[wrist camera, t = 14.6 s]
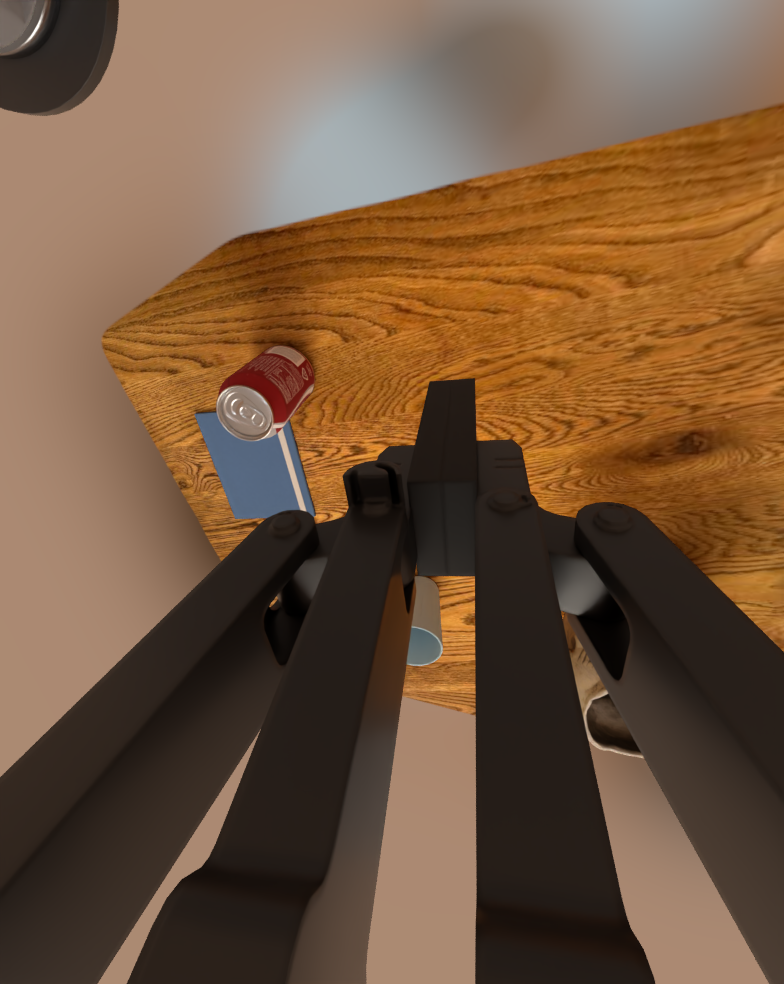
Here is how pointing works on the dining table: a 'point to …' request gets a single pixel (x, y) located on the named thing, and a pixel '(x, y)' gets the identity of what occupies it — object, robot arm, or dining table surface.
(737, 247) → the dining table surface
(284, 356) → the soda can
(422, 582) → the cup
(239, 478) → the cloth
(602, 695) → the clay pot
